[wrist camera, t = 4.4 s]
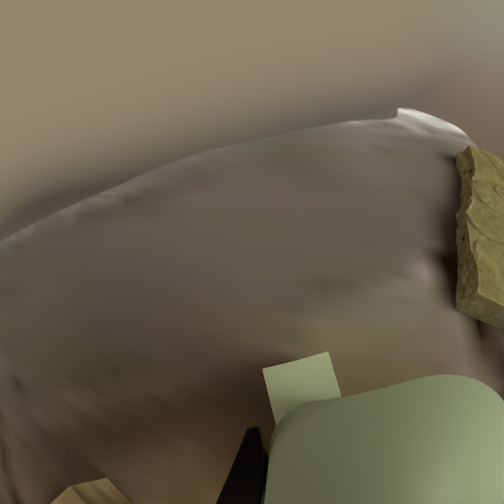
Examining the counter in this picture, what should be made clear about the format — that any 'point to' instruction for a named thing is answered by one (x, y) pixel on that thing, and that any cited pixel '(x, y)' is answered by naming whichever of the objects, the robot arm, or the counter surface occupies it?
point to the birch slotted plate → (92, 494)
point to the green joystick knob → (382, 440)
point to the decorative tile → (481, 237)
